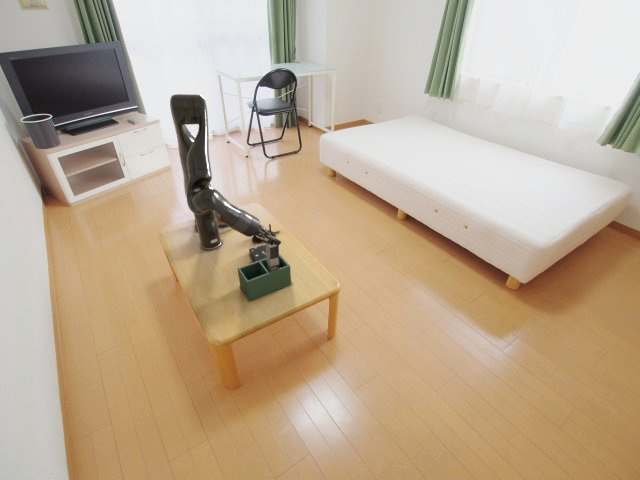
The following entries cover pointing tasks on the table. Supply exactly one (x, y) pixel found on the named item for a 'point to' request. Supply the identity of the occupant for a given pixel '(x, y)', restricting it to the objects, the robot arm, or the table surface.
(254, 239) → the gaming mouse
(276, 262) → the vintage mobile phone
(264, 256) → the disk drive
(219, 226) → the sunglasses case
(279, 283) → the caddy
